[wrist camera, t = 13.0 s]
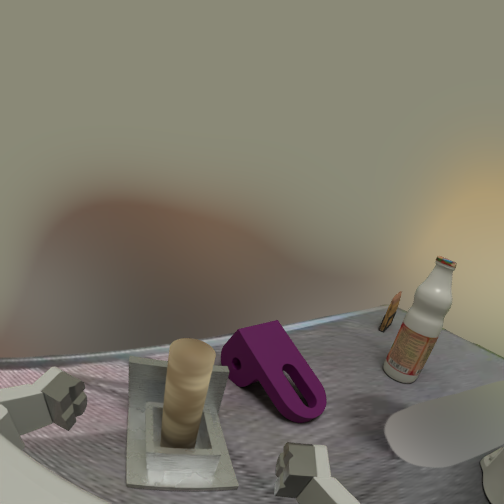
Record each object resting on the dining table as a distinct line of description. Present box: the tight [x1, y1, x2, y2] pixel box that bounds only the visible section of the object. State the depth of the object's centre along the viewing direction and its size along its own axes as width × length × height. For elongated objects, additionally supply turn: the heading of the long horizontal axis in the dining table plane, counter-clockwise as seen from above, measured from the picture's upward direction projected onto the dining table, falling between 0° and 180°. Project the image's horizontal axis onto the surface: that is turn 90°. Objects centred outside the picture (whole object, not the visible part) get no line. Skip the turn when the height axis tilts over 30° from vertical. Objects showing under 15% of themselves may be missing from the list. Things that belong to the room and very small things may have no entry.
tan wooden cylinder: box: [160, 338, 216, 449], centre depth 25 cm, size 4×4×15 cm
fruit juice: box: [383, 256, 457, 383], centre depth 53 cm, size 9×9×28 cm
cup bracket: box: [127, 356, 239, 491], centre depth 27 cm, size 12×13×9 cm
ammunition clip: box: [379, 292, 401, 332], centre depth 82 cm, size 11×2×12 cm, turn 138°
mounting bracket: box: [221, 320, 326, 423], centre depth 44 cm, size 10×8×18 cm
